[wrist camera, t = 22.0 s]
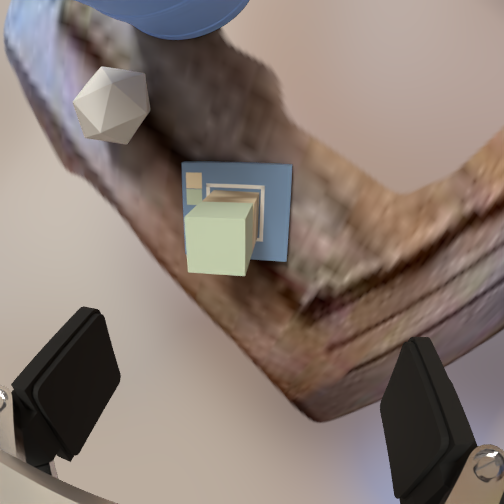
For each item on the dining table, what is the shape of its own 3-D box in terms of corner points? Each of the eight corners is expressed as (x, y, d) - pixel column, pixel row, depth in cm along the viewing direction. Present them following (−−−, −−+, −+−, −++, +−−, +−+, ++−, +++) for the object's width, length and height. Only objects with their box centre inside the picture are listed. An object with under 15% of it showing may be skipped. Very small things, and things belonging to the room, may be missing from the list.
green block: (252, 203, 30) (245, 219, 26) (252, 252, 32) (245, 276, 28) (200, 201, 31) (184, 216, 26) (202, 249, 33) (188, 272, 28)
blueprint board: (292, 164, 34) (292, 166, 33) (286, 257, 39) (286, 262, 37) (185, 161, 35) (181, 162, 34) (188, 250, 40) (185, 254, 39)
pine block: (259, 192, 35) (254, 204, 30) (257, 235, 37) (252, 253, 32) (213, 190, 35) (201, 201, 31) (213, 232, 37) (202, 249, 33)
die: (160, 62, 32) (84, 48, 25) (178, 112, 30) (89, 100, 23) (129, 108, 37) (60, 103, 30) (143, 159, 35) (65, 158, 28)
